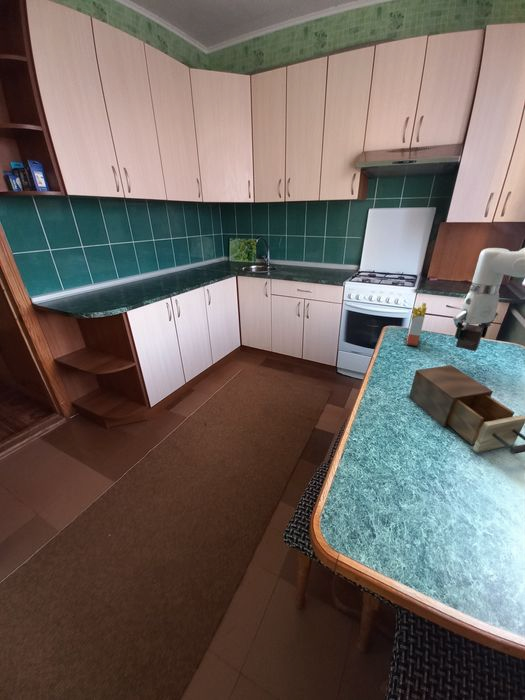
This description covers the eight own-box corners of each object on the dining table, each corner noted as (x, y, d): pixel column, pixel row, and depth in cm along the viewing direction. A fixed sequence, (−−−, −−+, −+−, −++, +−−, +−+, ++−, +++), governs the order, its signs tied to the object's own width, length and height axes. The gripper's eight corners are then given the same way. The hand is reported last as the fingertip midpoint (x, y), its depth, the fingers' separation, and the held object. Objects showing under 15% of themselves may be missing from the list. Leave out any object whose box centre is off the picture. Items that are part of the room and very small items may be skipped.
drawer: (538, 462, 69) (554, 434, 65) (498, 472, 67) (513, 443, 63) (469, 411, 86) (479, 387, 82) (436, 417, 84) (444, 392, 80)
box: (475, 351, 99) (481, 332, 96) (455, 347, 103) (460, 328, 100) (478, 345, 103) (484, 326, 100) (459, 341, 107) (464, 323, 104)
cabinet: (480, 421, 83) (493, 391, 79) (442, 428, 81) (453, 397, 76) (441, 392, 96) (450, 364, 91) (408, 398, 94) (415, 369, 89)
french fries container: (404, 347, 126) (413, 307, 117) (406, 337, 134) (414, 300, 126) (416, 349, 124) (426, 309, 116) (417, 339, 132) (426, 301, 124)
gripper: (471, 293, 89) (457, 345, 97) (517, 288, 92) (500, 338, 100) (452, 288, 96) (440, 336, 103) (495, 283, 99) (480, 330, 107)
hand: (469, 337), depth 102 cm, fingers closed on box, 8 cm apart
